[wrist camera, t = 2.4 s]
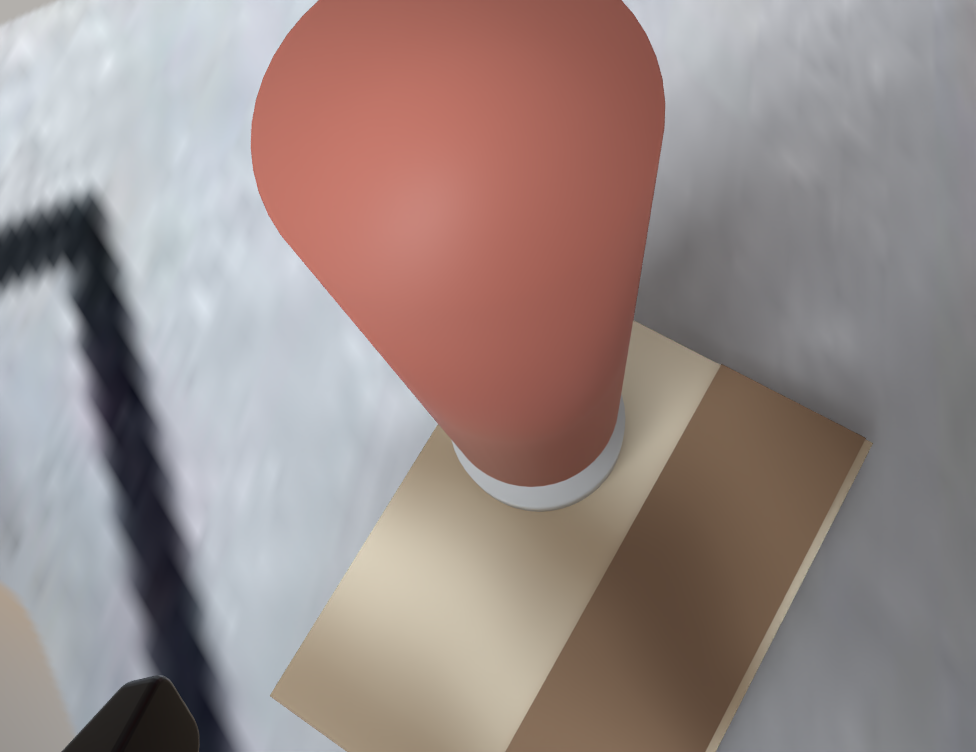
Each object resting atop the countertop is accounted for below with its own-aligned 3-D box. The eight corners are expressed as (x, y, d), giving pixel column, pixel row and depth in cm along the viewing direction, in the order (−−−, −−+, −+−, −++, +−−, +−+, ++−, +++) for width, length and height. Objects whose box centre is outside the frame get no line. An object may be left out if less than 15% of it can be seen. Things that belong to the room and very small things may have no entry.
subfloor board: (614, 924, 18) (616, 948, 16) (287, 690, 20) (268, 696, 19) (856, 452, 20) (874, 442, 19) (536, 286, 22) (533, 267, 21)
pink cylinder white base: (570, 543, 19) (535, 424, 6) (426, 457, 20) (142, 201, 7) (653, 398, 20) (775, 22, 7) (510, 321, 20) (387, -132, 8)
